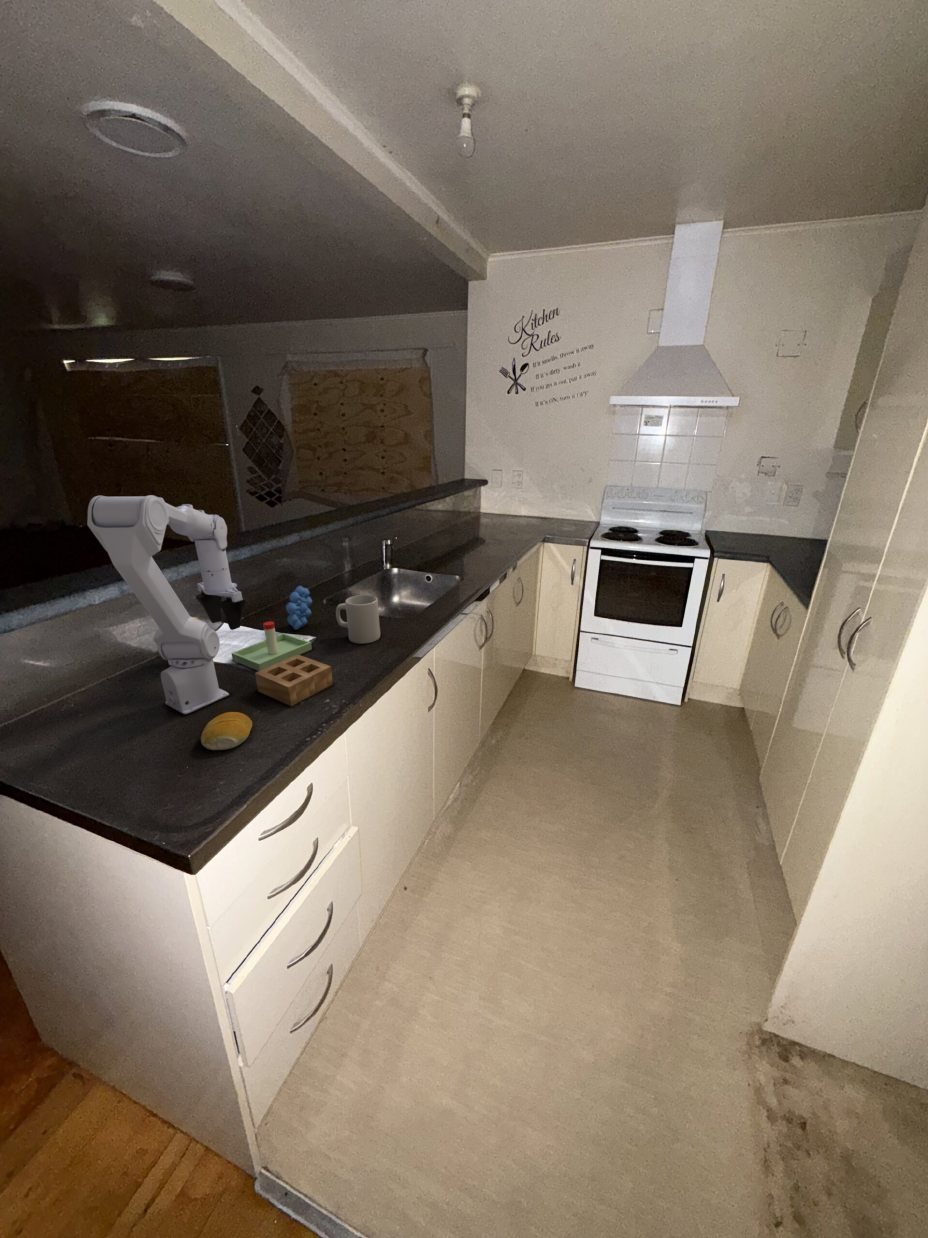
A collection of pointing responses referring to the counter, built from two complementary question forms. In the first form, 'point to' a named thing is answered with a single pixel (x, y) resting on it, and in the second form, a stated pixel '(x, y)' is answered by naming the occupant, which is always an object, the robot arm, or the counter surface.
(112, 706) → the counter surface
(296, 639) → the tray
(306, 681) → the pen holder
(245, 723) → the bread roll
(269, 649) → the marker
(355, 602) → the mug
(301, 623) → the grapes
